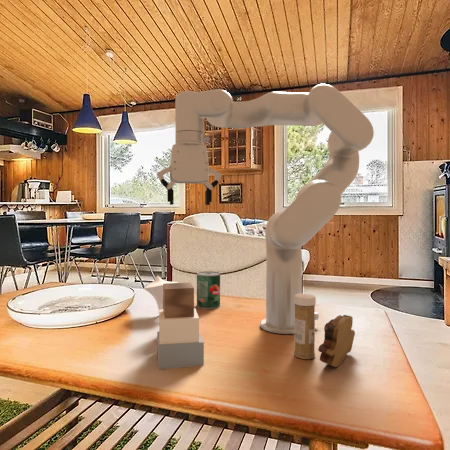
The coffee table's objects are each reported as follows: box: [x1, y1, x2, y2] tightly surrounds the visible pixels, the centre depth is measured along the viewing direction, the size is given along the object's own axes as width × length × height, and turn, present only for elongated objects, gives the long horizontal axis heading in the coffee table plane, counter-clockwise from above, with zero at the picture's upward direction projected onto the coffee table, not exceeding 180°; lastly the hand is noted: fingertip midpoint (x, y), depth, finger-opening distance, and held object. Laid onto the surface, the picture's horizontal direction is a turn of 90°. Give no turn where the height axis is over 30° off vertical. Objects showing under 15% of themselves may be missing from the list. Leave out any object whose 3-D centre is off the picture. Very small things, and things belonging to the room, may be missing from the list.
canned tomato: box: [196, 271, 221, 310], centre depth 125 cm, size 8×8×11 cm
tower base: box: [156, 330, 205, 370], centre depth 80 cm, size 9×9×5 cm
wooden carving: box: [318, 314, 356, 368], centre depth 78 cm, size 16×5×10 cm, turn 150°
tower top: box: [158, 307, 200, 344], centre depth 80 cm, size 8×8×5 cm
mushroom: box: [142, 275, 180, 311], centre depth 114 cm, size 10×11×12 cm
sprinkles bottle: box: [293, 292, 317, 360], centre depth 82 cm, size 5×5×13 cm
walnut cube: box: [163, 282, 195, 318], centre depth 80 cm, size 6×6×6 cm
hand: (189, 204), depth 100 cm, fingers open, 9 cm apart
